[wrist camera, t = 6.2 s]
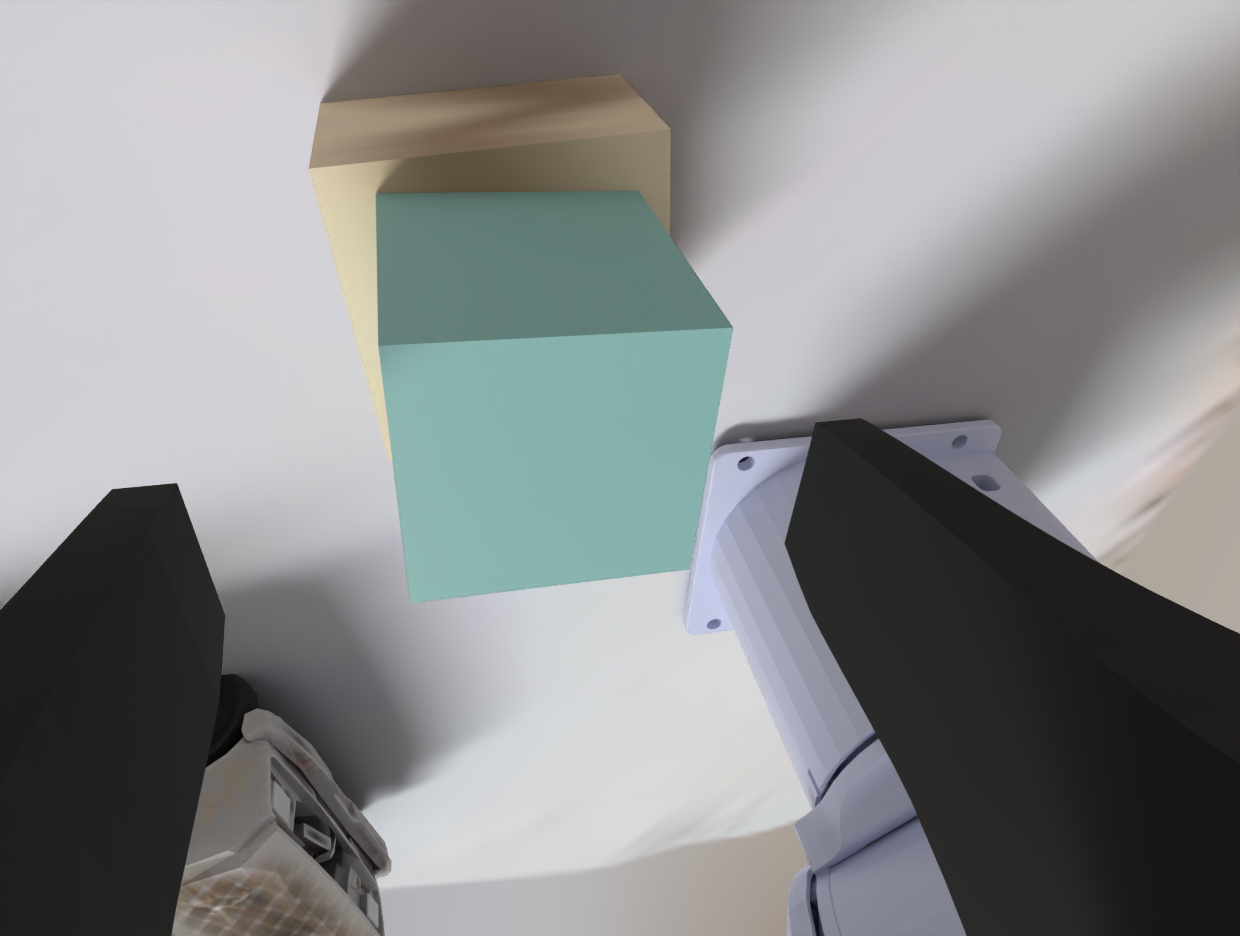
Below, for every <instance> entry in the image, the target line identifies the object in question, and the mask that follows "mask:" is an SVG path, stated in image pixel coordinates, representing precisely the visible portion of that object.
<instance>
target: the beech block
mask: <svg viewBox="0 0 1240 936" xmlns="http://www.w3.org/2000/svg"><path fill="white" fill-rule="evenodd" d="M309 172H310V175H311V179H312V183H313V186H314V190H315V194H316V197H317V201H318V204H319V208H320V212H321V215H322V219H323V223H324V226H325V230H326V234H327V237H328V241H329V244H330V248H331V252H332V255H333V259H334V263H335V266H336V270H337V274H338V277H339V281H340V284H341V288H342V292H343V295H344V299H345V303H346V306H347V310H348V314H349V317H350V321H351V324H352V328H353V332H354V335H355V339H356V343H357V346H358V350H359V354H360V357H361V361H362V364H363V368H364V372H365V375H366V379H367V383H368V386H369V390H370V394H371V397H372V401H373V404H374V408H375V412H376V415H377V419H378V423H379V426H380V430H381V434H382V437H383V441H384V445H385V448H386V452H387V455H388V459H389V461H390V460H392V453H391V445H390V437H389V429H388V421H387V413H386V405H385V397H384V389H383V381H382V372H381V364H380V356H379V348H378V304H377V243H376V193H450V192H553V191H639V192H640V193H641V195H642V196H643V198H644V199H645V201H646V202H647V203H648V205H649V206H650V208H651V209H652V211H653V212H654V214H655V215H656V217H657V218H658V219H659V221H660V222H661V224H662V225H663V227H664V228H665V230H666V231H667V232H668V234H669V235H670V181H671V129H670V128H669V126H668V125H667V124H666V123H665V122H664V121H663V120H662V119H661V118H660V117H659V116H658V115H657V113H656V112H655V111H654V110H653V109H652V108H651V107H650V106H649V105H648V104H647V103H646V102H645V100H644V99H643V98H642V97H641V96H640V95H639V94H638V93H637V92H636V91H635V90H634V89H633V87H632V86H631V85H630V84H629V83H628V82H627V81H626V80H625V79H624V78H623V77H622V76H621V74H614V75H604V76H594V77H583V78H573V79H563V80H553V81H542V82H532V83H522V84H511V85H501V86H491V87H481V88H470V89H460V90H450V91H439V92H429V93H419V94H409V95H398V96H388V97H378V98H368V99H357V100H347V101H337V102H326V103H320V108H319V113H318V119H317V125H316V130H315V136H314V142H313V147H312V153H311V159H310V164H309Z"/></svg>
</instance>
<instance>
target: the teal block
mask: <svg viewBox="0 0 1240 936" xmlns="http://www.w3.org/2000/svg"><path fill="white" fill-rule="evenodd" d="M376 243H377V304H378V348H379V356H380V364H381V372H382V381H383V389H384V397H385V405H386V413H387V421H388V429H389V437H390V445H391V453H392V461H393V469H394V477H395V485H396V493H397V501H398V510H399V518H400V526H401V534H402V542H403V550H404V558H405V566H406V574H407V582H408V590H409V598H410V603H415V602H423V601H432V600H440V599H448V598H456V597H465V596H473V595H481V594H489V593H498V592H506V591H514V590H523V589H531V588H539V587H547V586H556V585H564V584H572V583H580V582H589V581H597V580H605V579H613V578H622V577H630V576H638V575H646V574H655V573H663V572H671V571H679V570H688V569H690V564H691V559H692V553H693V548H694V542H695V537H696V531H697V526H698V520H699V514H700V509H701V503H702V498H703V492H704V487H705V481H706V476H707V470H708V465H709V459H710V454H711V448H712V443H713V437H714V432H715V426H716V420H717V415H718V409H719V404H720V398H721V393H722V387H723V382H724V376H725V371H726V365H727V360H728V354H729V349H730V343H731V338H732V332H733V327H732V325H731V324H730V322H729V321H728V319H727V318H726V316H725V315H724V314H723V312H722V311H721V309H720V308H719V306H718V305H717V303H716V302H715V301H714V299H713V298H712V296H711V295H710V293H709V292H708V290H707V289H706V287H705V286H704V285H703V283H702V282H701V280H700V279H699V277H698V276H697V274H696V273H695V272H694V270H693V269H692V267H691V266H690V264H689V263H688V261H687V260H686V259H685V257H684V256H683V254H682V253H681V251H680V250H679V248H678V247H677V245H676V244H675V243H674V241H673V240H672V238H671V237H670V235H669V234H668V232H667V231H666V230H665V228H664V227H663V225H662V224H661V222H660V221H659V219H658V218H657V217H656V215H655V214H654V212H653V211H652V209H651V208H650V206H649V205H648V203H647V202H646V201H645V199H644V198H643V196H642V195H641V193H640V192H639V191H553V192H450V193H376Z"/></svg>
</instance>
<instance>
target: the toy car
mask: <svg viewBox="0 0 1240 936" xmlns="http://www.w3.org/2000/svg"><path fill="white" fill-rule="evenodd" d="M390 872H391V860H390V858H389V856H388V853H387V848H386V845H385V842H384V840H383V839H382V838H381V837H380V835H379V834H378V833H377V832H376V830H375V829H374V828H373V827H372V825H371V824H370V823H369V822H368V820H367V819H366V818H365V817H364V815H363V814H362V813H361V812H360V811H359V809H358V808H357V807H356V806H355V804H354V803H353V802H352V801H351V799H350V798H347V797H346V796H345V795H344V793H343V792H342V791H341V789H340V788H339V787H338V785H337V784H336V782H335V781H334V780H333V777H332V774H331V772H330V770H329V769H328V767H327V766H326V764H325V763H324V762H323V760H322V759H321V757H320V756H319V754H318V753H317V752H316V750H315V749H314V747H313V746H312V745H311V744H310V743H309V742H308V741H307V740H305V739H304V738H303V737H302V736H301V735H299V734H298V733H297V732H296V731H295V730H294V729H292V728H291V727H290V726H289V725H288V724H286V723H285V722H284V721H283V720H282V718H281V717H280V716H276V715H275V714H273V713H272V712H270V711H266V710H262V709H258V704H257V696H256V693H255V692H254V691H253V689H252V688H251V687H250V685H248V684H247V683H246V682H245V681H244V680H243V679H242V678H241V677H238V676H236V675H234V674H230V675H221V683H220V695H219V704H218V709H217V714H216V719H215V725H214V729H213V734H212V739H211V744H210V749H209V754H208V759H207V764H206V769H205V774H204V778H203V783H202V788H201V793H200V797H199V802H198V807H197V811H196V816H195V821H194V826H193V830H192V835H191V840H190V845H189V849H188V854H187V859H186V864H185V868H184V873H183V878H182V883H181V887H180V892H179V897H178V902H177V906H176V912H175V918H174V924H173V930H172V936H385V935H384V923H383V915H382V907H381V899H380V893H379V888H378V885H377V882H376V878H380V877H384V876H387V875H388V874H389V873H390Z"/></svg>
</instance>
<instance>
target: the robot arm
mask: <svg viewBox="0 0 1240 936" xmlns="http://www.w3.org/2000/svg"><path fill="white" fill-rule="evenodd" d="M1001 435H1002V430H1001V428H1000V427H999V426H998V425H997V424H996V423H995V422H994V421H992V420H979V421H969V422H958V423H948V424H937V425H926V426H916V427H905V428H895V429H884V430H881V429H879V428H878V427H876V426H874V425H872V424H870V423H869V422H867V421H865V420H863V419H861V418H859V419H849V420H838V421H828V422H817V423H815V427H814V431H813V435H812V436H810V437H800V438H789V439H778V440H768V441H757V442H747V443H736V444H727V445H723V446H721V447H719V448H717V449H716V450H715V451H714V452H713V453H712V455H711V457H710V460H709V466H708V472H707V478H706V485H705V491H704V497H703V503H702V509H701V515H700V521H699V527H698V534H697V540H696V546H695V552H694V558H693V564H692V570H691V577H690V583H689V589H688V595H687V601H686V607H685V613H684V619H683V622H684V626H685V629H686V631H687V632H688V633H689V634H692V635H701V634H708V633H715V632H721V631H728V630H734V631H735V633H736V636H737V638H738V640H739V643H740V645H741V647H742V649H743V652H744V654H745V656H746V659H747V661H748V663H749V666H750V668H751V670H752V672H753V675H754V677H755V679H756V682H757V684H758V686H759V689H760V691H761V693H762V695H763V698H764V700H765V702H766V705H767V707H768V709H769V712H770V714H771V716H772V718H773V721H774V723H775V725H776V728H777V730H778V732H779V735H780V737H781V739H782V741H783V744H784V746H785V748H786V751H787V753H788V755H789V757H790V760H791V762H792V764H793V767H794V769H795V771H796V774H797V776H798V778H799V780H800V783H801V785H802V787H803V790H804V792H805V794H806V797H807V799H808V801H809V803H810V806H811V808H812V810H811V811H810V812H809V813H808V814H807V815H805V816H804V817H802V818H801V819H799V820H798V821H796V822H795V824H794V828H795V830H796V833H797V836H798V838H799V840H800V843H801V845H802V847H803V850H804V853H805V855H806V858H807V860H808V863H809V864H808V865H806V866H805V867H803V868H802V869H801V870H799V871H798V872H797V873H796V874H795V876H794V878H793V880H792V882H791V884H790V889H789V895H788V919H787V936H1240V634H1239V633H1237V632H1235V631H1233V630H1230V629H1228V628H1226V627H1224V626H1222V625H1220V624H1218V623H1215V622H1213V621H1211V620H1209V619H1207V618H1205V617H1203V616H1201V615H1199V614H1197V613H1195V612H1193V611H1191V610H1189V609H1187V608H1185V607H1183V606H1181V605H1179V604H1177V603H1175V602H1173V601H1171V600H1169V599H1166V598H1164V597H1162V596H1160V595H1158V594H1156V593H1154V592H1152V591H1150V590H1148V589H1146V588H1144V587H1143V586H1141V585H1139V584H1137V583H1135V582H1133V581H1131V580H1129V579H1127V578H1125V577H1124V576H1121V575H1120V574H1118V573H1116V572H1114V571H1113V570H1111V569H1109V568H1107V567H1106V566H1104V565H1102V564H1100V563H1099V562H1098V561H1097V560H1096V559H1095V558H1094V557H1093V556H1092V555H1091V554H1090V553H1089V552H1088V550H1087V549H1086V548H1085V547H1084V546H1083V545H1082V544H1081V543H1080V542H1079V541H1078V540H1077V539H1076V538H1075V537H1074V536H1073V535H1072V534H1071V533H1070V532H1069V531H1068V530H1067V528H1066V527H1065V526H1064V525H1063V524H1062V523H1061V522H1060V521H1059V520H1058V519H1057V518H1056V517H1055V516H1054V515H1053V514H1052V513H1051V512H1050V511H1049V510H1048V509H1047V508H1046V506H1045V505H1044V504H1043V503H1042V502H1041V501H1040V500H1039V499H1038V498H1037V497H1036V496H1035V495H1034V494H1033V493H1032V492H1031V491H1030V490H1029V489H1028V488H1027V487H1026V486H1025V484H1024V483H1023V482H1022V481H1021V480H1020V479H1019V478H1018V477H1017V476H1016V475H1015V474H1014V473H1013V472H1012V471H1011V470H1010V469H1009V468H1008V467H1007V466H1006V465H1005V464H1004V462H1003V461H1002V460H1001V459H1000V458H999V457H998V456H997V455H996V454H995V453H994V452H995V450H996V448H997V445H998V443H999V441H1000V438H1001ZM957 437H958V438H957ZM955 438H956V439H955ZM954 439H955V440H954ZM747 456H749V458H748V459H747V460H745V461H744V462H740V463H739V461H740V460H741V459H742V458H744V457H747ZM224 624H225V614H224V611H223V609H222V606H221V603H220V600H219V598H218V595H217V592H216V589H215V587H214V584H213V581H212V578H211V576H210V573H209V570H208V567H207V565H206V562H205V559H204V556H203V554H202V551H201V548H200V545H199V543H198V540H197V537H196V534H195V531H194V529H193V526H192V523H191V520H190V518H189V515H188V512H187V509H186V507H185V504H184V501H183V498H182V496H181V493H180V490H179V487H178V485H177V483H174V484H163V485H152V486H142V487H131V488H121V489H112V490H111V491H110V492H109V493H108V494H107V495H106V496H105V497H104V498H103V499H102V500H101V502H100V503H99V504H98V505H97V506H96V507H95V508H94V509H93V510H92V511H91V512H90V513H89V514H88V516H87V517H86V518H85V519H84V520H83V521H82V522H81V523H80V524H79V525H78V526H77V527H76V529H75V530H74V531H73V532H72V533H71V534H70V535H69V536H68V537H67V538H66V539H65V540H64V542H63V543H62V544H61V545H60V546H59V547H58V548H57V549H56V550H55V551H54V553H53V554H52V555H51V556H50V557H49V558H48V559H47V560H46V561H45V562H44V564H43V565H42V566H41V567H40V568H39V569H38V570H37V571H36V572H35V573H34V574H33V575H32V577H31V578H30V579H29V580H28V581H27V582H26V583H25V584H24V585H23V586H22V587H21V589H20V590H19V591H18V592H17V593H16V594H15V595H14V596H13V597H12V598H11V599H10V600H9V601H8V602H7V603H6V605H5V606H4V607H3V608H2V609H1V610H0V936H172V930H173V924H174V918H175V912H176V906H177V902H178V897H179V892H180V887H181V883H182V878H183V873H184V868H185V864H186V859H187V854H188V849H189V845H190V840H191V835H192V830H193V826H194V821H195V816H196V811H197V807H198V802H199V797H200V793H201V788H202V783H203V778H204V774H205V769H206V764H207V759H208V754H209V749H210V744H211V739H212V734H213V729H214V725H215V719H216V714H217V709H218V704H219V695H220V683H221V671H222V657H223V640H224Z"/></svg>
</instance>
